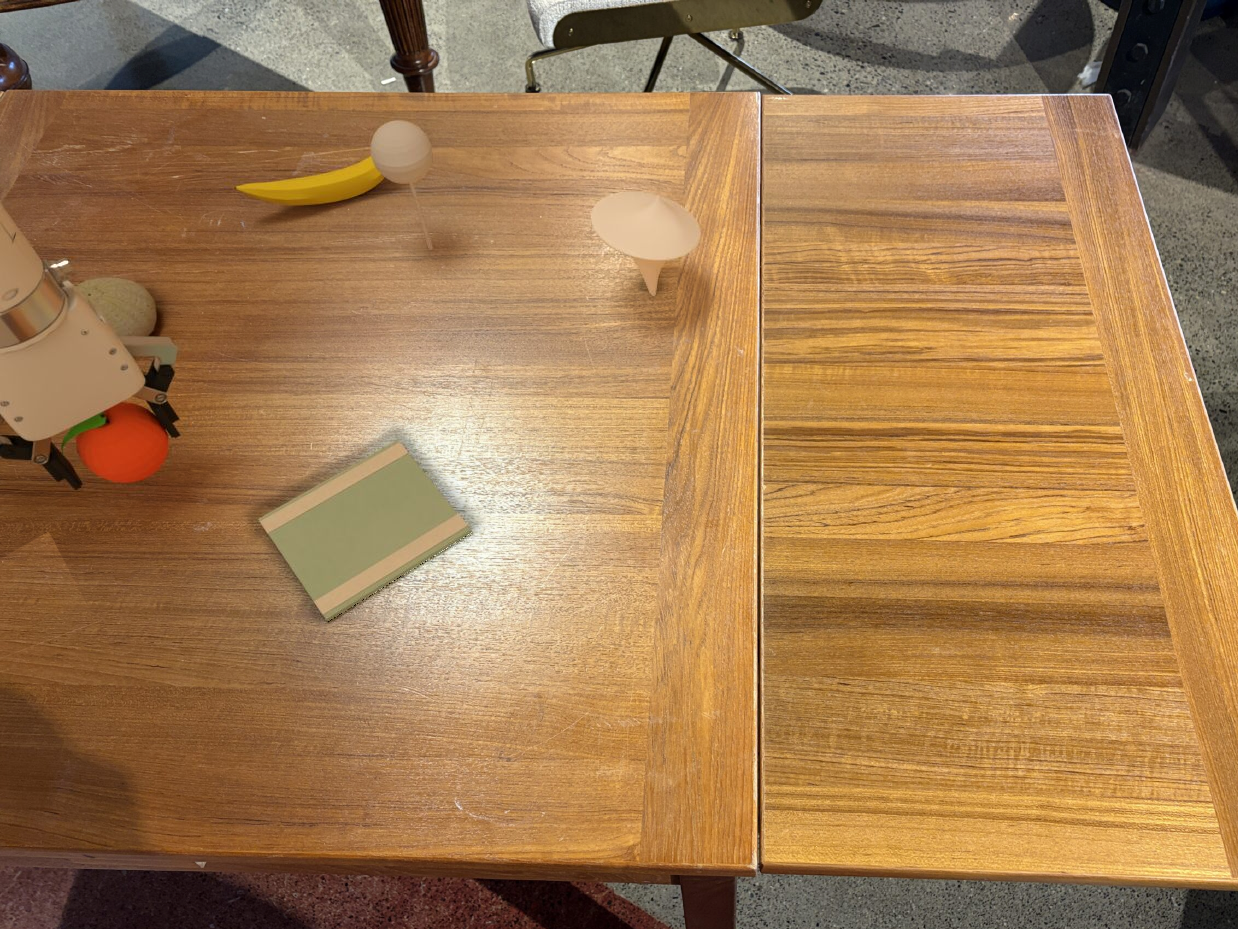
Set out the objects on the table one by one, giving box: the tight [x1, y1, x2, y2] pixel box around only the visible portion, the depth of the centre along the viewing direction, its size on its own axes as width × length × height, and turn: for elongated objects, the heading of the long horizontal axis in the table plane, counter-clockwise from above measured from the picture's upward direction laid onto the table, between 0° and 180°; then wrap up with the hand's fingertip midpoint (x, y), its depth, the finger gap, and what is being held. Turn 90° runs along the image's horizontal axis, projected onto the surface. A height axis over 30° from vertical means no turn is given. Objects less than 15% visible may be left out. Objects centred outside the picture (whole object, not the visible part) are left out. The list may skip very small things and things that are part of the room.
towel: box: [257, 439, 473, 622], centre depth 89 cm, size 14×13×1 cm
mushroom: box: [590, 190, 702, 297], centre depth 100 cm, size 10×11×12 cm
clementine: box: [60, 401, 170, 484], centre depth 86 cm, size 8×7×7 cm
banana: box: [234, 155, 385, 206], centre depth 111 cm, size 3×19×6 cm, turn 115°
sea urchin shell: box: [75, 277, 158, 336], centre depth 101 cm, size 9×8×8 cm
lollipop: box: [370, 119, 434, 251], centre depth 103 cm, size 6×6×15 cm
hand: (122, 452), depth 87 cm, fingers closed on clementine, 8 cm apart
